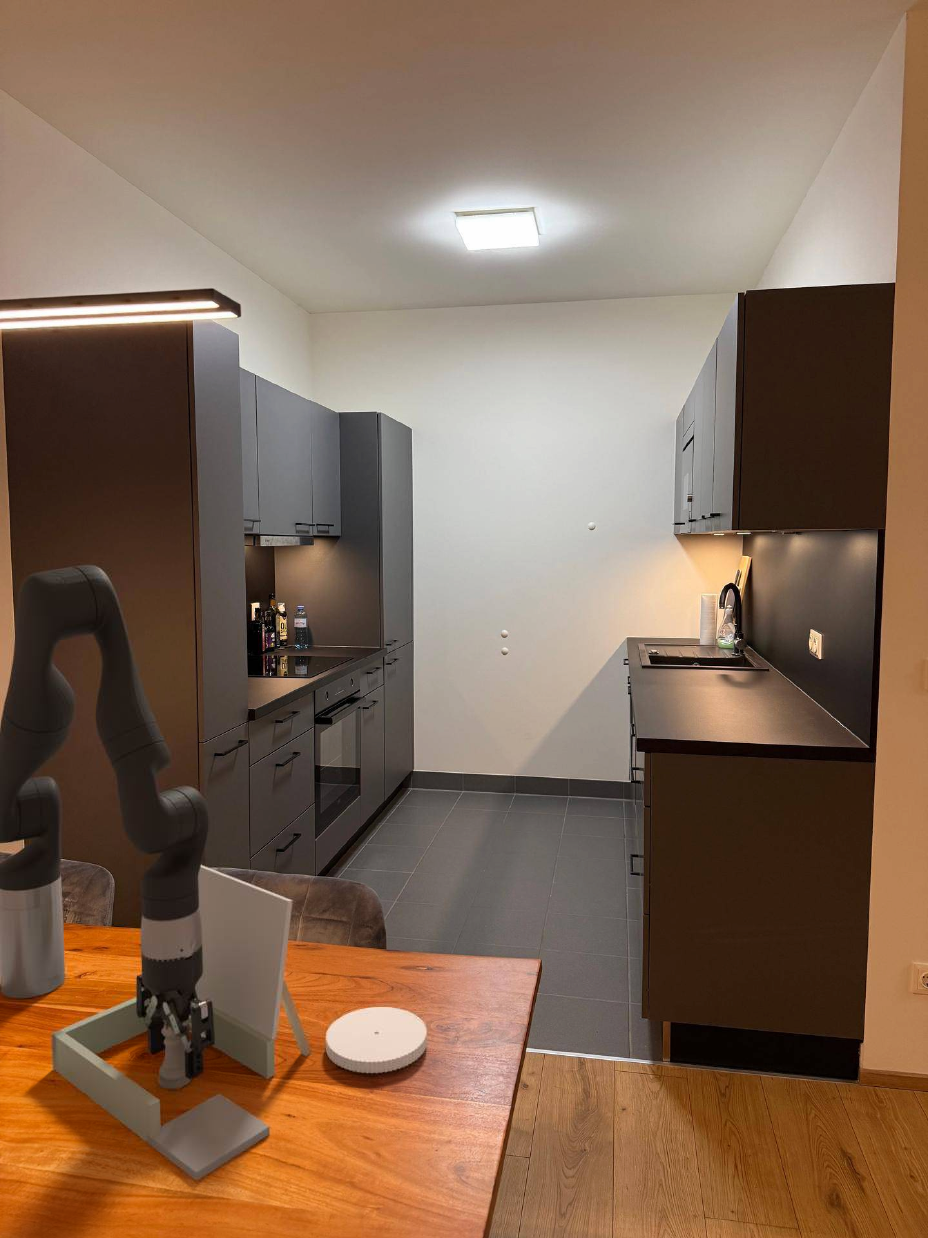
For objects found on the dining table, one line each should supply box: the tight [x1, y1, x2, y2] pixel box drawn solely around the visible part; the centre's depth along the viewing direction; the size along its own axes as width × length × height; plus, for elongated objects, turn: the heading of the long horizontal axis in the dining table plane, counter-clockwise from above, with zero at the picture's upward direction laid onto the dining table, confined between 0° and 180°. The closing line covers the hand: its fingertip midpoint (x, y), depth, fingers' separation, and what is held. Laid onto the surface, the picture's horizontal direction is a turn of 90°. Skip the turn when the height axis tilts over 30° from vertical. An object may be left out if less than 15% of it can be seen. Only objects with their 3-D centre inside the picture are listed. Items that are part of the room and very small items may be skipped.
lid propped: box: [195, 864, 293, 1040], centre depth 125 cm, size 24×4×18 cm, turn 51°
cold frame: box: [51, 979, 312, 1145], centre depth 120 cm, size 24×24×12 cm
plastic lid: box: [325, 1006, 428, 1074], centre depth 123 cm, size 14×14×2 cm
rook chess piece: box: [157, 1021, 192, 1091], centre depth 116 cm, size 4×4×8 cm
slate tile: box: [146, 1093, 271, 1182], centre depth 105 cm, size 10×10×1 cm
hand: (175, 1063), depth 116 cm, fingers open, 8 cm apart
